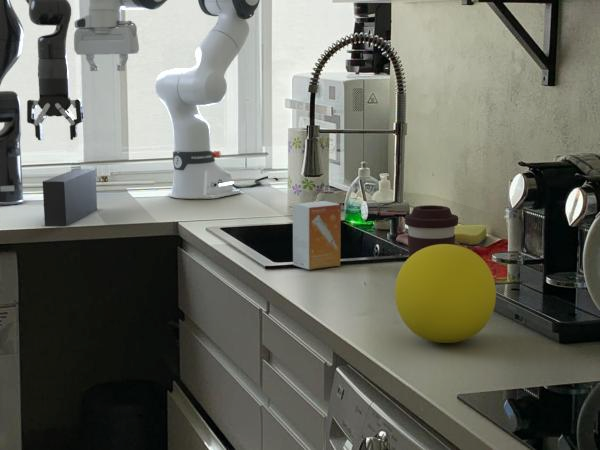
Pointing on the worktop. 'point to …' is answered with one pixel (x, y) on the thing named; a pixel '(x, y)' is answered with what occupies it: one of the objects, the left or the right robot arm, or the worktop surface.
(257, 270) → the worktop surface
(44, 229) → the worktop surface
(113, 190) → the worktop surface
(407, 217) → the coffee cup
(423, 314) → the toy
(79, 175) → the box
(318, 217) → the small box
